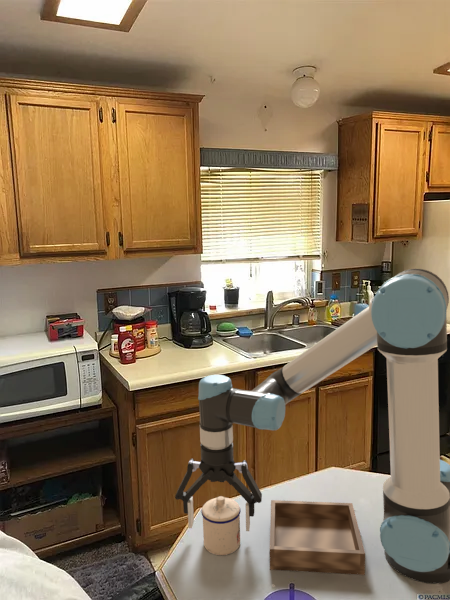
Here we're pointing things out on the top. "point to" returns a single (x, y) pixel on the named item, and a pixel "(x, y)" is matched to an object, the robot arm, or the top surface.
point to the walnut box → (315, 538)
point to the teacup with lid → (221, 525)
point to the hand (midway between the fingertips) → (219, 526)
